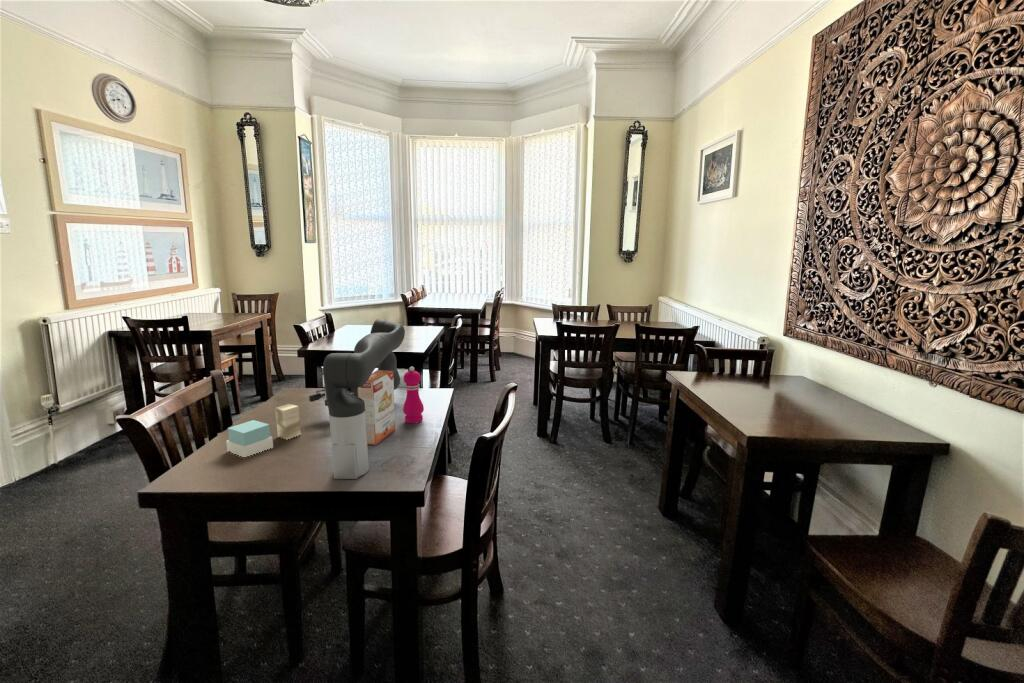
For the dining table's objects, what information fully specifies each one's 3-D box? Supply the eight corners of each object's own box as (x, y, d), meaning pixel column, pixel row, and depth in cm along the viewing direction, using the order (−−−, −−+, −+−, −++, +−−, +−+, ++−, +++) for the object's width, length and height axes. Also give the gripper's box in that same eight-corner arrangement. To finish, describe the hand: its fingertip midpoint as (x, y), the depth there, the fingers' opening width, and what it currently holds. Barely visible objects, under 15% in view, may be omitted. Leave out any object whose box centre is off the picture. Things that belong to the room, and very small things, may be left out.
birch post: (301, 435, 155) (298, 406, 153) (287, 440, 151) (284, 410, 149) (291, 432, 158) (289, 403, 156) (277, 437, 153) (274, 407, 152)
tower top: (270, 436, 145) (269, 424, 144) (245, 446, 138) (243, 433, 137) (254, 431, 148) (253, 419, 148) (229, 440, 141) (227, 428, 141)
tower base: (273, 449, 145) (272, 436, 144) (244, 459, 138) (243, 447, 137) (256, 443, 150) (255, 431, 149) (227, 453, 142) (226, 440, 141)
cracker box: (377, 446, 146) (373, 381, 142) (359, 444, 147) (355, 380, 144) (397, 429, 160) (394, 370, 156) (380, 428, 161) (377, 369, 157)
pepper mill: (399, 420, 168) (397, 366, 164) (416, 415, 173) (414, 363, 169) (410, 425, 163) (408, 370, 159) (428, 420, 168) (426, 366, 164)
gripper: (341, 376, 179) (303, 387, 165) (367, 382, 171) (329, 394, 158) (343, 395, 180) (305, 407, 167) (368, 401, 173) (331, 415, 159)
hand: (317, 401), depth 162 cm, fingers open, 8 cm apart
